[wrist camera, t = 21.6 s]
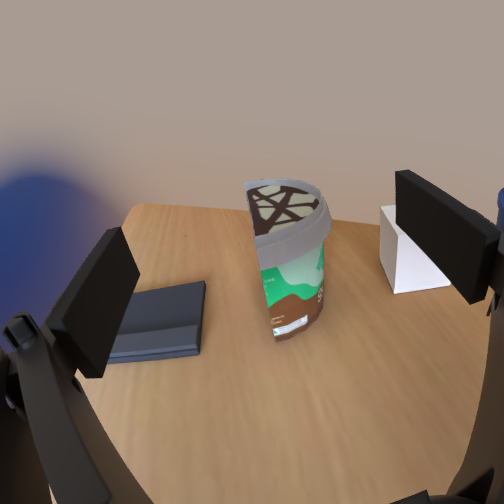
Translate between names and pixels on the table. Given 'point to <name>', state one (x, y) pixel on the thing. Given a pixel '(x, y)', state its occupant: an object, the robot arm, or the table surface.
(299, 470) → the table surface
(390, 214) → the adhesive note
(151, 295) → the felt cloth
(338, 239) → the table surface
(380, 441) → the table surface
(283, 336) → the food container
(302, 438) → the table surface
